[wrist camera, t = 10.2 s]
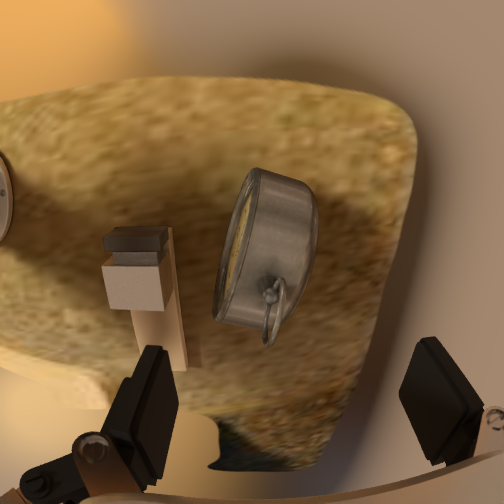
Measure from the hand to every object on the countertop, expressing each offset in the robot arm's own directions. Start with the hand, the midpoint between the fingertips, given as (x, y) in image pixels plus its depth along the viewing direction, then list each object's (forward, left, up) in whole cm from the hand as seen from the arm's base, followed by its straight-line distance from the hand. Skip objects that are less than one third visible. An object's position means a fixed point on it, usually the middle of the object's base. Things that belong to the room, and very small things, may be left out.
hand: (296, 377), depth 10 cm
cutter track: (-11, -8, -19) cm, 23 cm away
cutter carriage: (-11, -3, -17) cm, 21 cm away
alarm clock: (-1, 0, -19) cm, 19 cm away
